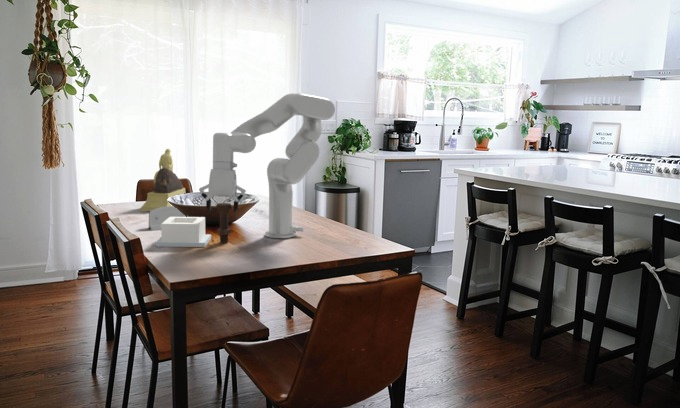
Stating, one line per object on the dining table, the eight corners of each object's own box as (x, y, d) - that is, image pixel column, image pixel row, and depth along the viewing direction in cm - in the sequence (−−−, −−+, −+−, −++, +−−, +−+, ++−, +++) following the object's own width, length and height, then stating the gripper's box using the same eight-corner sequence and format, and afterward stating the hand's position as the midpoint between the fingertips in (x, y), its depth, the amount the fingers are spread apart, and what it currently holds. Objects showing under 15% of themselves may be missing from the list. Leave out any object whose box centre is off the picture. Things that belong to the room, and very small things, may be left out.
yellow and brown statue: (164, 202, 292) (163, 146, 287) (187, 203, 291) (186, 147, 286) (140, 211, 265) (138, 150, 260) (165, 212, 263) (164, 151, 258)
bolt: (223, 244, 204) (223, 205, 201) (213, 242, 206) (213, 204, 204) (234, 242, 209) (234, 203, 206) (224, 240, 211) (224, 202, 209)
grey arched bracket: (150, 230, 224) (148, 206, 226) (148, 232, 229) (146, 208, 230) (190, 227, 233) (188, 204, 234) (188, 228, 237) (185, 206, 238)
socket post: (211, 238, 214) (211, 217, 213) (205, 246, 200) (204, 224, 199) (164, 237, 213) (164, 216, 211) (155, 246, 199) (154, 223, 198)
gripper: (247, 166, 207) (246, 210, 209) (201, 164, 206) (200, 208, 208) (245, 168, 199) (244, 213, 202) (197, 165, 198) (197, 211, 201)
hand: (222, 211), depth 205 cm, fingers open, 9 cm apart
